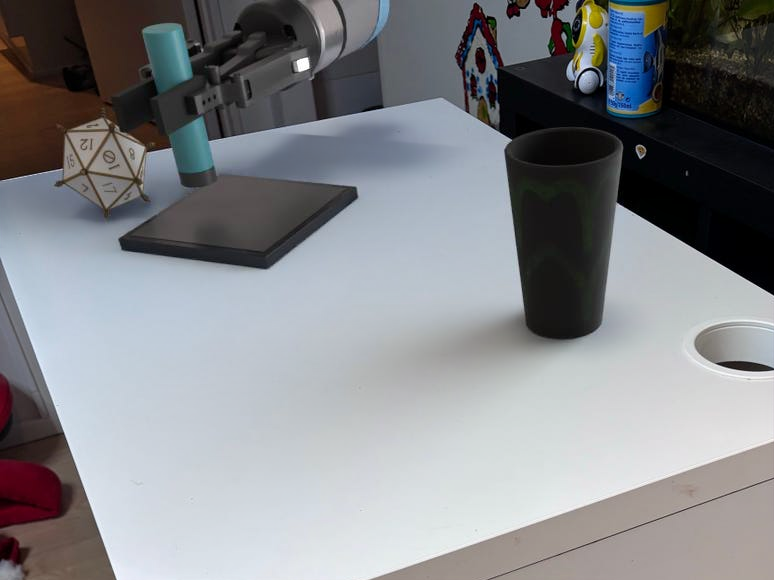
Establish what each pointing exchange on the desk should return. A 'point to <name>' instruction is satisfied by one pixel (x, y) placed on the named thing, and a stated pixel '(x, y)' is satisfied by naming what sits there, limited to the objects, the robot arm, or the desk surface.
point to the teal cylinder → (168, 72)
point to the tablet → (240, 220)
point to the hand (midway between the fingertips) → (138, 116)
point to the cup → (563, 225)
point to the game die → (103, 163)
